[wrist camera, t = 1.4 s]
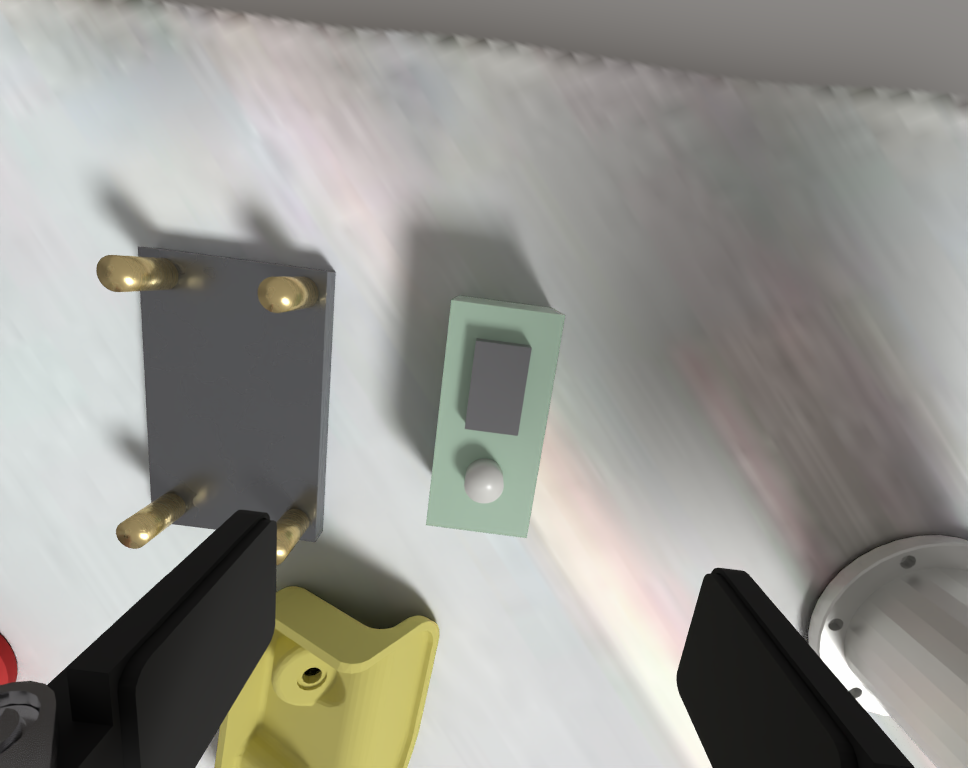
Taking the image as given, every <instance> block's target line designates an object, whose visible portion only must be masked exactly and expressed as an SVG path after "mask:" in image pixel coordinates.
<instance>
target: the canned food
mask: <svg viewBox="0 0 968 768" xmlns="http://www.w3.org/2000/svg"><path fill="white" fill-rule="evenodd" d="M16 678H17V662H16V658H15V655H14V653H13V651H12V649H11V647H10V645H9V644H8V642H7V641H6V640H5V638H4V637H3V636H2V635H1V634H0V685H3V684H7V683H11V682H16Z"/></svg>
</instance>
